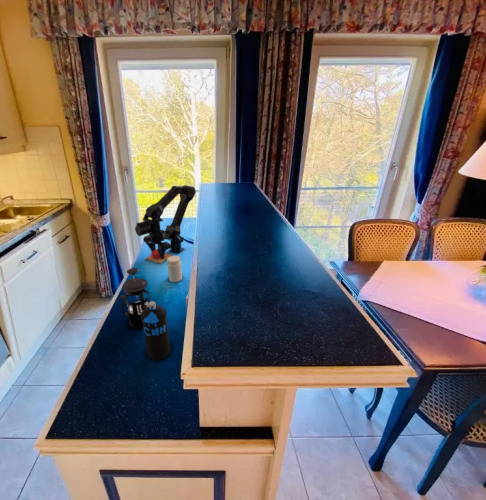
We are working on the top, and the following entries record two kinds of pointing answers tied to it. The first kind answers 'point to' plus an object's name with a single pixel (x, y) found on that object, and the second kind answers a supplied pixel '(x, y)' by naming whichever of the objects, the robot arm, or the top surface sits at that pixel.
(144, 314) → the aerosol can
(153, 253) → the lid
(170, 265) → the jar
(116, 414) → the top surface
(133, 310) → the french press
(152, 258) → the cork mat
